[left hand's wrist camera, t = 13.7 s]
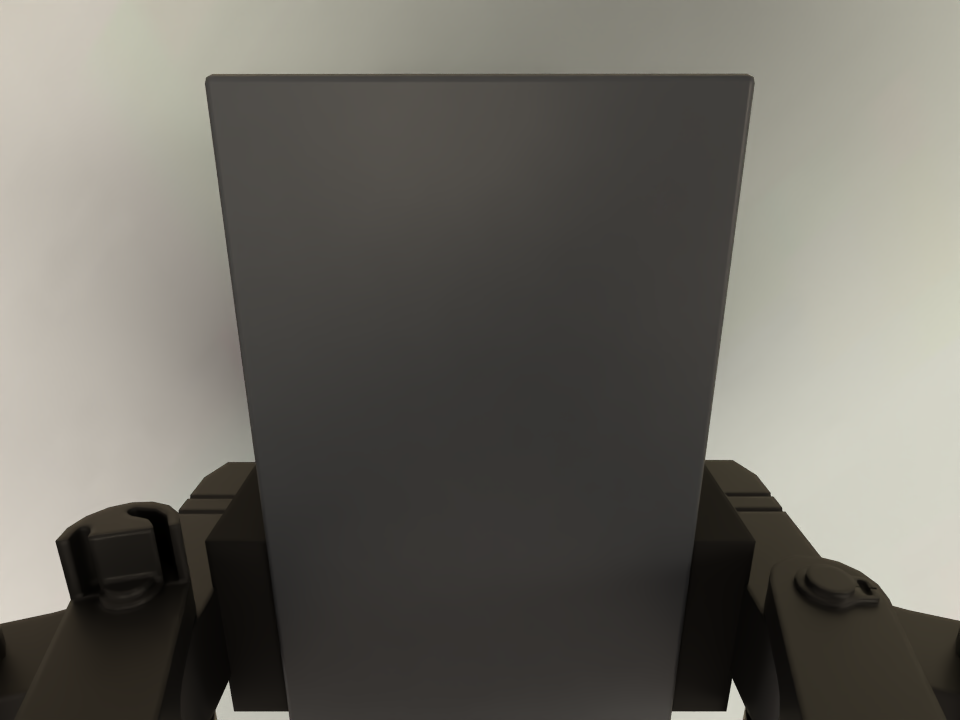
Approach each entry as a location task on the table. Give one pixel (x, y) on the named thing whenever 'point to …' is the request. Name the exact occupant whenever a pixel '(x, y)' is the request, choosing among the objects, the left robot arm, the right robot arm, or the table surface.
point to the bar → (479, 377)
